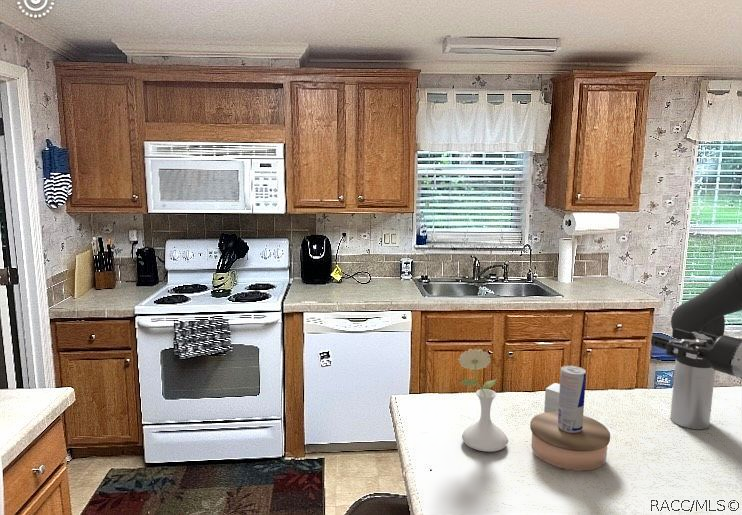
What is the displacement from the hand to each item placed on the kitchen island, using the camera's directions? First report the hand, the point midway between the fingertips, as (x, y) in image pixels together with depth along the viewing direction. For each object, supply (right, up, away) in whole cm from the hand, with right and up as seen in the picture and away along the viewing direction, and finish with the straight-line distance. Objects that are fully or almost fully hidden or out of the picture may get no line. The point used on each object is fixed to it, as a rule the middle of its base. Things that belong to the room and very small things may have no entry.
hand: (662, 336), depth 120 cm
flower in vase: (-38, -30, +15) cm, 50 cm away
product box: (-12, -27, +32) cm, 43 cm away
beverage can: (-18, -24, +8) cm, 31 cm away
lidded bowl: (-18, -30, +9) cm, 37 cm away
